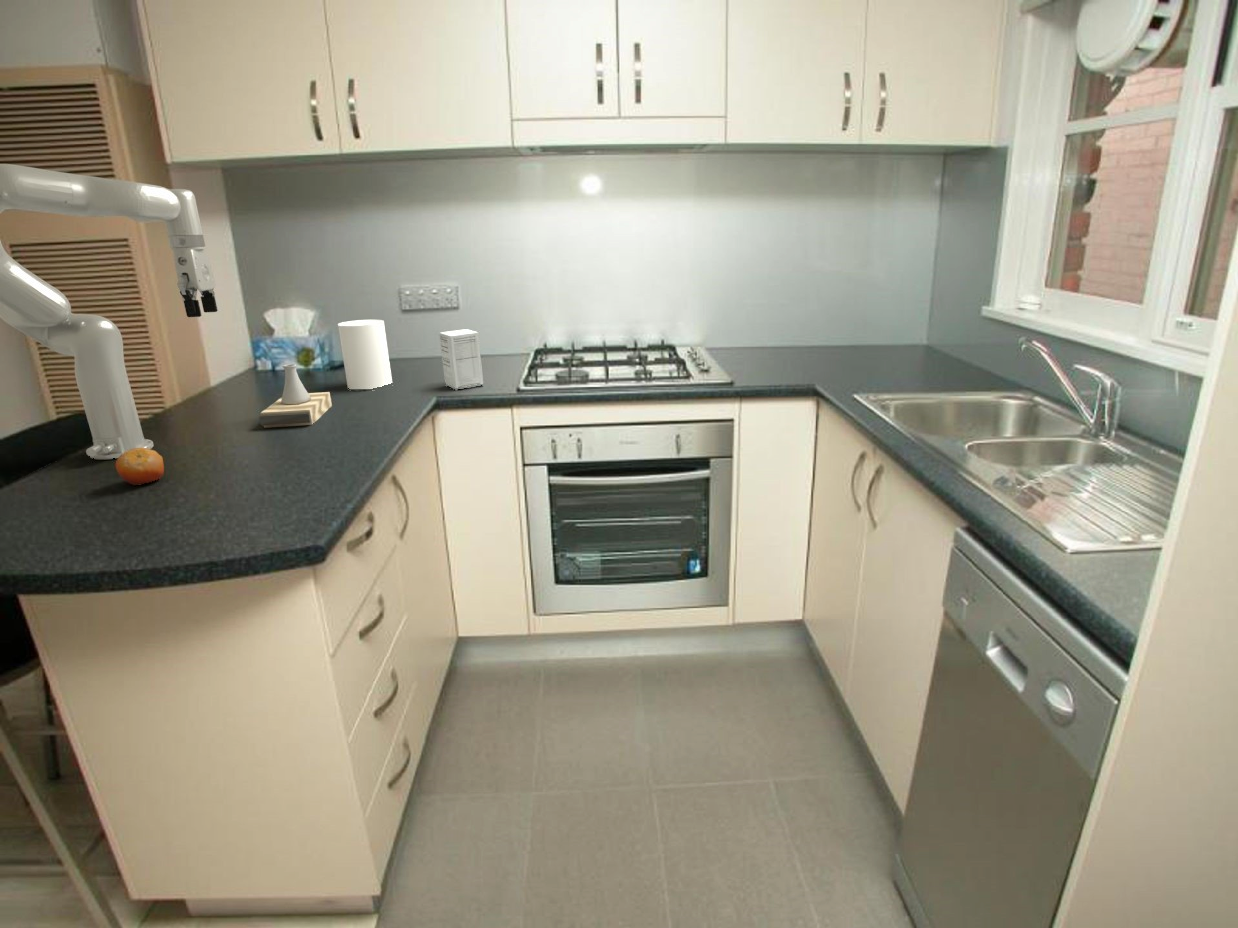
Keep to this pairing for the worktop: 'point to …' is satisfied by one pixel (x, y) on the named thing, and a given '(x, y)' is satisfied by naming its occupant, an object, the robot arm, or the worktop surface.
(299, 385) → the flask
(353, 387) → the canister
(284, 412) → the zigzag patterned box
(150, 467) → the fruit
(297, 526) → the worktop surface
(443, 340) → the supplement box
